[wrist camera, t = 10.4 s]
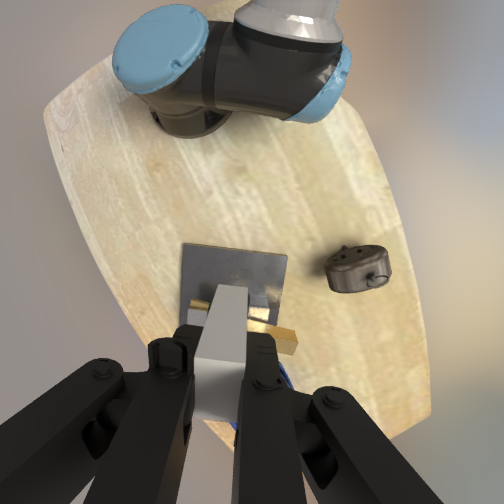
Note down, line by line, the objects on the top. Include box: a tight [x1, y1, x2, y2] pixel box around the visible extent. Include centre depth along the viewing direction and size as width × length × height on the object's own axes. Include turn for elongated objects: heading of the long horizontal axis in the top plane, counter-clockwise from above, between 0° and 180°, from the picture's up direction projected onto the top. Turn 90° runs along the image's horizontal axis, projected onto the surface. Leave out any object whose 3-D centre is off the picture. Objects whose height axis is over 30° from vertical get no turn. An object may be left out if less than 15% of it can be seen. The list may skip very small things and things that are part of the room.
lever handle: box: [190, 298, 298, 356], centre depth 42 cm, size 17×5×7 cm, turn 74°
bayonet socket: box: [180, 243, 288, 327], centre depth 47 cm, size 20×18×7 cm
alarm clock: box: [325, 245, 392, 293], centre depth 41 cm, size 11×5×16 cm, turn 108°
